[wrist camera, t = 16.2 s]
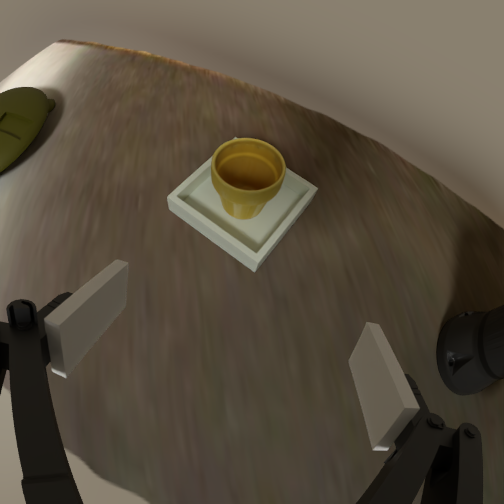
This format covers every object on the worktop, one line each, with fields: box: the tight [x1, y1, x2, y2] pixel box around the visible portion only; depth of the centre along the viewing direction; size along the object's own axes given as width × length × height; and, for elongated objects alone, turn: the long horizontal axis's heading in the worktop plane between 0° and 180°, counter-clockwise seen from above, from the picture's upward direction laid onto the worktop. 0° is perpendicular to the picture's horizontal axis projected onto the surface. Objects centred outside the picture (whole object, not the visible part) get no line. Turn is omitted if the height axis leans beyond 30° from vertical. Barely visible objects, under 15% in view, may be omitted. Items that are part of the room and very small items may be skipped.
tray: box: [167, 137, 318, 272], centre depth 50 cm, size 17×17×4 cm
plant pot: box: [211, 138, 286, 220], centre depth 47 cm, size 10×10×10 cm
